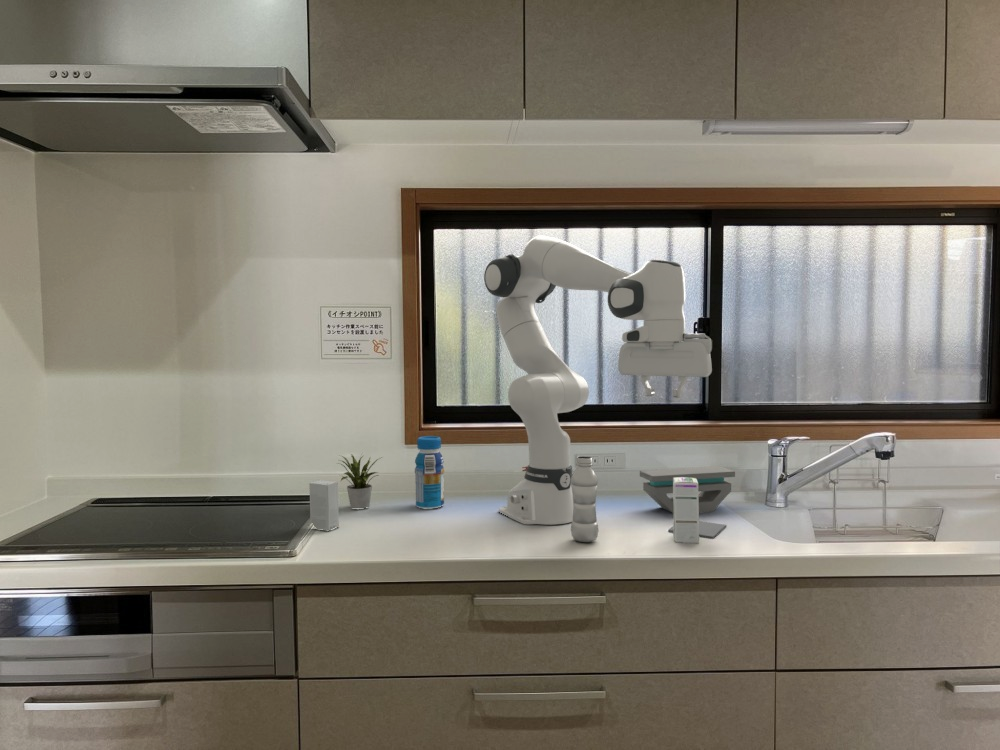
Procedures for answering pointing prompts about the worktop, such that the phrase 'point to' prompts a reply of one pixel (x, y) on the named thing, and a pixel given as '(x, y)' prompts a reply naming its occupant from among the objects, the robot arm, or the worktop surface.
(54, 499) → the worktop surface
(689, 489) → the syrup box
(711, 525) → the mat
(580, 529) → the plastic bottle
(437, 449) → the beverage bottle
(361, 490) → the house plant
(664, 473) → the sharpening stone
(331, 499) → the skincare box
